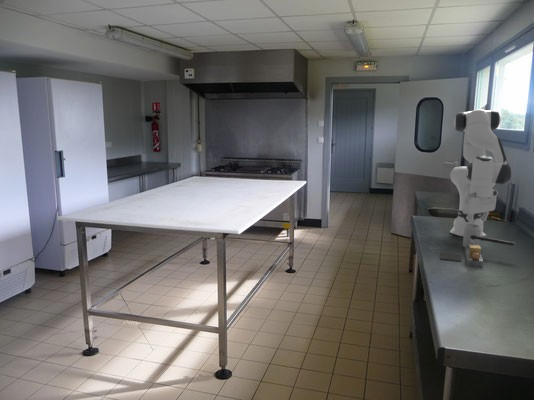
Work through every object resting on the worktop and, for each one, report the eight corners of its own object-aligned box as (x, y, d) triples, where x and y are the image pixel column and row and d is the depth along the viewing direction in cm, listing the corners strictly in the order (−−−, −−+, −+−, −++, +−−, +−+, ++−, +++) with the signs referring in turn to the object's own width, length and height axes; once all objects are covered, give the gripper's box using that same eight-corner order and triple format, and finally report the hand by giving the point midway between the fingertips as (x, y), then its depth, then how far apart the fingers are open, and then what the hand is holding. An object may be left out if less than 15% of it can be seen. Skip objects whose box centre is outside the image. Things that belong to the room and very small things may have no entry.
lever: (469, 238, 207) (470, 235, 206) (471, 237, 208) (471, 234, 208) (513, 245, 194) (514, 243, 194) (515, 244, 196) (515, 242, 196)
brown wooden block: (468, 252, 198) (469, 244, 198) (479, 253, 197) (480, 245, 196) (469, 255, 193) (470, 247, 192) (480, 257, 192) (481, 248, 191)
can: (480, 250, 212) (482, 227, 210) (464, 249, 213) (466, 226, 211) (476, 246, 219) (478, 223, 217) (460, 245, 221) (463, 223, 219)
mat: (440, 253, 206) (440, 252, 206) (460, 255, 203) (460, 254, 203) (440, 259, 197) (440, 258, 197) (461, 261, 194) (461, 260, 194)
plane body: (464, 251, 210) (466, 237, 209) (478, 252, 208) (479, 238, 207) (467, 266, 188) (469, 250, 187) (482, 268, 186) (484, 252, 184)
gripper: (473, 195, 181) (470, 226, 184) (500, 191, 192) (496, 220, 195) (460, 192, 187) (457, 223, 189) (486, 189, 197) (483, 218, 200)
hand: (477, 221), depth 192 cm, fingers open, 8 cm apart
